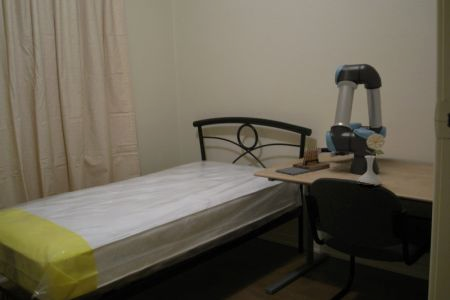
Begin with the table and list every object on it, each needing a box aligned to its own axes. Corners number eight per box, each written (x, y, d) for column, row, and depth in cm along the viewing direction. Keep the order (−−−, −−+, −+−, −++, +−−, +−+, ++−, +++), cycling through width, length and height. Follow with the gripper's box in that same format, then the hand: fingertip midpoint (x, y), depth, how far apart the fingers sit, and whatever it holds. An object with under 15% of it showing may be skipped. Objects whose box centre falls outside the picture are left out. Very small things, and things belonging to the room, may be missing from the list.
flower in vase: (352, 185, 203) (353, 133, 200) (365, 180, 211) (365, 131, 207) (377, 189, 194) (378, 135, 190) (390, 184, 201) (391, 132, 197)
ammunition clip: (316, 166, 250) (316, 146, 248) (319, 167, 249) (319, 147, 247) (303, 169, 245) (302, 148, 243) (305, 169, 243) (304, 149, 242)
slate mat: (309, 172, 236) (309, 170, 236) (293, 175, 229) (293, 173, 229) (292, 168, 248) (292, 166, 247) (275, 171, 240) (275, 170, 240)
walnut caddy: (329, 167, 246) (329, 163, 245) (310, 171, 237) (310, 167, 236) (311, 164, 257) (311, 160, 257) (292, 168, 248) (292, 164, 247)
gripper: (361, 157, 254) (338, 162, 242) (329, 152, 274) (306, 157, 262) (362, 145, 252) (338, 149, 240) (329, 141, 273) (306, 145, 261)
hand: (321, 153), depth 251 cm, fingers open, 13 cm apart
